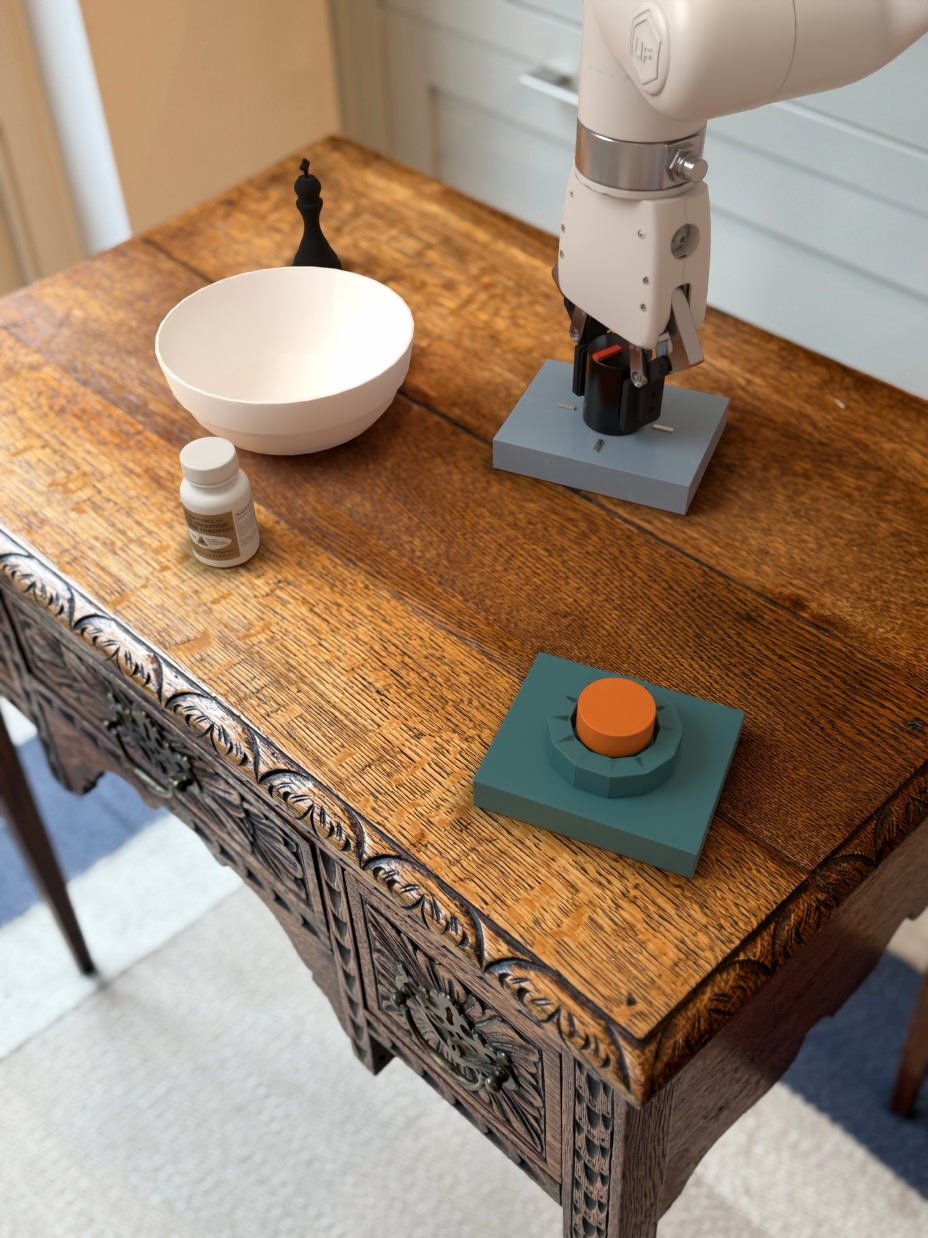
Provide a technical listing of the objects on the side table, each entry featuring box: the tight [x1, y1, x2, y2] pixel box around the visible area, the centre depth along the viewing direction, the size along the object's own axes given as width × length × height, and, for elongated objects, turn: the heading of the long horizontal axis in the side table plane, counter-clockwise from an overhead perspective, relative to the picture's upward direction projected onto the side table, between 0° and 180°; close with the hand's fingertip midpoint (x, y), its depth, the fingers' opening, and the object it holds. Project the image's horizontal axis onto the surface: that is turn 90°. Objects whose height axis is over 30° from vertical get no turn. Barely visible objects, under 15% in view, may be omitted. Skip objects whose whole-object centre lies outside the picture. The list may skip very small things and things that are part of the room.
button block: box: [472, 651, 746, 880], centre depth 63 cm, size 12×10×4 cm
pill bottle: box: [179, 436, 261, 568], centre depth 75 cm, size 4×4×8 cm
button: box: [576, 678, 656, 757], centre depth 61 cm, size 4×4×2 cm
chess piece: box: [291, 157, 343, 270], centre depth 100 cm, size 4×4×10 cm
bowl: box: [154, 266, 416, 456], centre depth 86 cm, size 18×18×7 cm
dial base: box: [492, 358, 731, 516], centre depth 84 cm, size 14×11×3 cm
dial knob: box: [583, 332, 654, 436], centre depth 81 cm, size 4×4×6 cm
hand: (615, 404), depth 83 cm, fingers closed on dial knob, 4 cm apart
